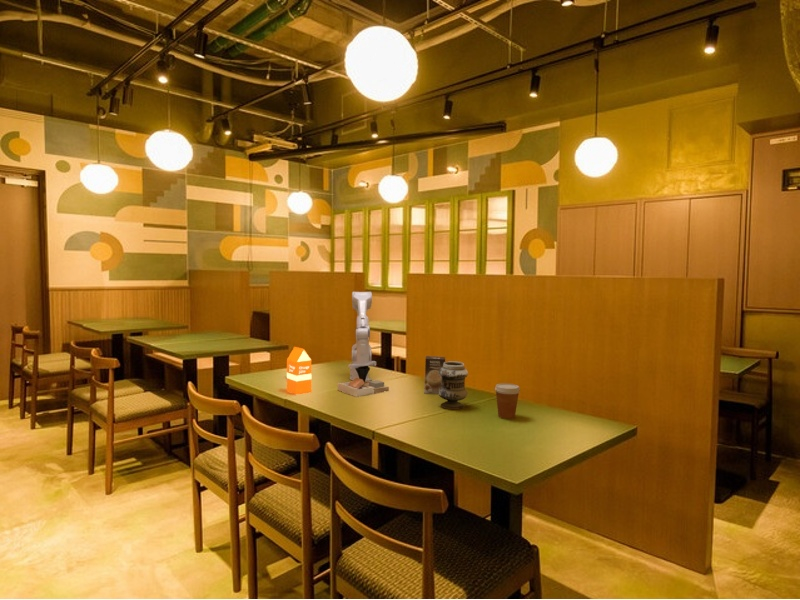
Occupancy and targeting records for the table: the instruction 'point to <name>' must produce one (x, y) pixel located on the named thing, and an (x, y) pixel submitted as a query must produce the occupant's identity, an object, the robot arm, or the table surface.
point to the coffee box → (433, 374)
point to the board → (376, 390)
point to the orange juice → (299, 372)
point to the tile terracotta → (356, 383)
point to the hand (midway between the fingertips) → (362, 382)
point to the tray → (355, 390)
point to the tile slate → (376, 384)
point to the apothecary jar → (453, 384)
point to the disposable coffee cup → (507, 400)
